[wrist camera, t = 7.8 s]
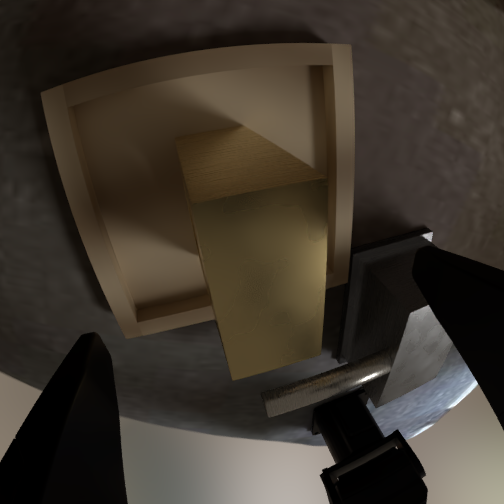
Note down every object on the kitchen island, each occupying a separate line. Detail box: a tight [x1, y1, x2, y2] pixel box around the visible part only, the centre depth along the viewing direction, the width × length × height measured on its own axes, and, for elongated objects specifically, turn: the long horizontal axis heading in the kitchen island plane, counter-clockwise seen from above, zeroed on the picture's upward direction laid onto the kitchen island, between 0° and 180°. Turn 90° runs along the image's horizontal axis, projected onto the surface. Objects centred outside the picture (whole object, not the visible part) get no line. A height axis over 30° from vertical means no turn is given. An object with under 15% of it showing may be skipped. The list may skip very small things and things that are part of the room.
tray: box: [41, 43, 355, 339], centre depth 14 cm, size 13×13×2 cm
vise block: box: [261, 228, 453, 418], centre depth 20 cm, size 11×14×6 cm
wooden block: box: [175, 125, 328, 381], centre depth 11 cm, size 6×3×8 cm, turn 6°
